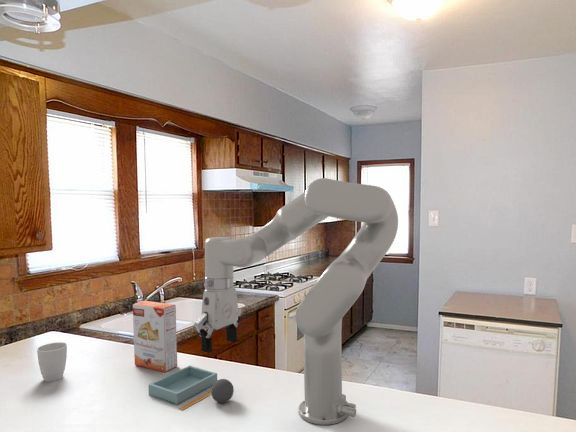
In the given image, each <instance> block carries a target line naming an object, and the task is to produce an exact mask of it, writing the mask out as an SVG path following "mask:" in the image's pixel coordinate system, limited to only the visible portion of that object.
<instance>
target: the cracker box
mask: <svg viewBox="0 0 576 432" xmlns="http://www.w3.org/2000/svg"><path fill="white" fill-rule="evenodd" d="M132 318H133V319H132V322H133V348H134V349H133V352H134V356H133V357H134V366H139V367H142V368H147V369H151V370H155V371H159V372H163V373H166V372H170V371H171V370H172V369H174V368H177V367H178V343H177V308H176V304H173V303H165V302H157V301H149V300H143V301H138V302H134V304H133V303H132Z"/></svg>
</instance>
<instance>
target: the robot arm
mask: <svg viewBox="0 0 576 432" xmlns="http://www.w3.org/2000/svg"><path fill="white" fill-rule="evenodd" d="M394 202H395V201H394V200H393V198H392V196H391V195H390V193H389V192H388V191H387V190H386V189H384V188H382V187H381V186H377V185H372V184H363V183H356V182H355V183H354V182H349V181H342V180H337V179H331V178H328V177H323V178H317V179H315V180H313V181H312V182H311V183H309V184H308V186H307V187H306V189H305V191H303V192H302V193H301V194H300V195H297V196H296V197H295V198H294V199H293V200H291V201H289V202H287V203H286V204H285V205H284V206H282V207H280V208H279V209H278V210H277V212H276V213H275V216H274V217H273V218H272V219H271V221H269V222H267V223H266V224H265V225H264V226H262V227H261V228H259V229H258V230H257V231H255V232H253V233H252V234H251V235H250V234H249V235H247V236H244V237H239V238H233V239H232V238H230V237H227V236H211V237H208V238H207V239H205V241H204V282H203V287H204V290H203V295H202V303H201V316H200V317H198V319H197V320H196V321H195V322H194V323H193V326H194V328H195V330H196V333H197V334H198V335H199V337H201V340H200V341H201V352H204V353H208V354H211V353H212V352H213V337H211V335H212V333H213V331H214V330H215V331H216V330H220V329H224V328H225V327H226V341H227V342H231V343H237V340H238V339H237V337H238V336H237V335H238V333H237V328H238V326H239V321H240V320H241V314H242V311H243V309H242V308H241V307H239V303H238V295H237V294H238V293H237V289H236V286H235V285H234V267H236V268H247V267H250V266H252V265H254V264H257V263H258V262H261V261H262V260H264V259H265V258H267V257H268V256H270V255H271V254H273V253H274V252H276V251H277V250H279V249H280V248H282V247H283V246H285V245H286V244H288V243H289V242H292V241H293V240H296V239H297V238H298V237H300V236H302V235H303V234H304V233H306V232H307V231H309V230H310V229H312V228H313V227H315V226H316V225H318V224H320V223H321V222H323V221H324V220H326V219H327V218H335V219H341V220H348V221H352V222H353V221H354V222H359V223H362V224H361V227H360V229H359V230H358V231H357V233H356V234H355V235H354V237H353V238H352V240H351V241H350V242H349V244H348V245H347V246H346V248H344V250H343V252H341V254H340V255H339V256H338V257H337V258H336V259H335V260H333V261H332V262H331V263H330V264H329V265H328V266H327V268H326V269H325V270H324V272H322V274H321V275H320V277H319V278H318V279H317V281H316V282H315V283H314V284H313V286H312V287H311V289H309V291H308V292H307V294H306V295H305V296H304V297H303V299H302V300H301V301H300V302H299V304H298V306H297V308H296V310H295V315H294V316H295V324H296V326H297V328H298V329H299V331H300V332H301V333H302V334H303V372H304V373H303V379H304V380H303V381H304V382H303V383H304V386H303V388H304V390H303V391H304V400H303V401H302V402H300V404H299V406H298V414H299V416H300V417H301V418H302V419H303V420H304V421H306V422H308V423H311V424H314V425H315V424H316V425H322V426H327V425H334V424H338V423H340V422H343V421H344V420H346V419H347V417H348V416H349V417H352V418H355V417H356V416H357V409H356V407H357V404H355V403H352V402H351V403H350V402H348V401H347V395H346V394H343V369H342V367H343V366H342V360H343V359H342V357H343V356H342V352H343V351H342V327H343V318H344V317H345V315H346V314H347V313H348V312H349V310H350V309H351V307H352V306H353V305H354V303H356V301H357V300H358V298H359V297H360V296H361V294H362V293H363V291H364V289H365V287H366V283H367V281H368V279H369V277H370V276H371V274H372V273H373V272H374V270H375V269H376V268H377V266H379V263H380V262H381V261H382V260H383V258H384V257H385V255H386V254H387V253H388V251H389V250H390V248H391V247H392V245H393V243H394V241H395V239H396V236H397V233H398V228H399V215H398V210H397V207H396V205H395V203H394Z"/></svg>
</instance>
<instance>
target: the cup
mask: <svg viewBox="0 0 576 432" xmlns="http://www.w3.org/2000/svg"><path fill="white" fill-rule="evenodd" d="M36 351H37V353H36V354H37V362H38V366H39V370H40V374H41V376H42V379H43V381H44V382H48V383H51V381H52V382H56V381H59V380H61V379H62V378H64V377H63V376H64V374H65V370H66V365H67V364H66V363H67V357H68V355H67V354H68V353H67V352H68V344H67V343H66V342H61V341H60V342H59V341H58V342H51V343H46V344H42V345H41V346H38V347H37V348H36Z"/></svg>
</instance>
